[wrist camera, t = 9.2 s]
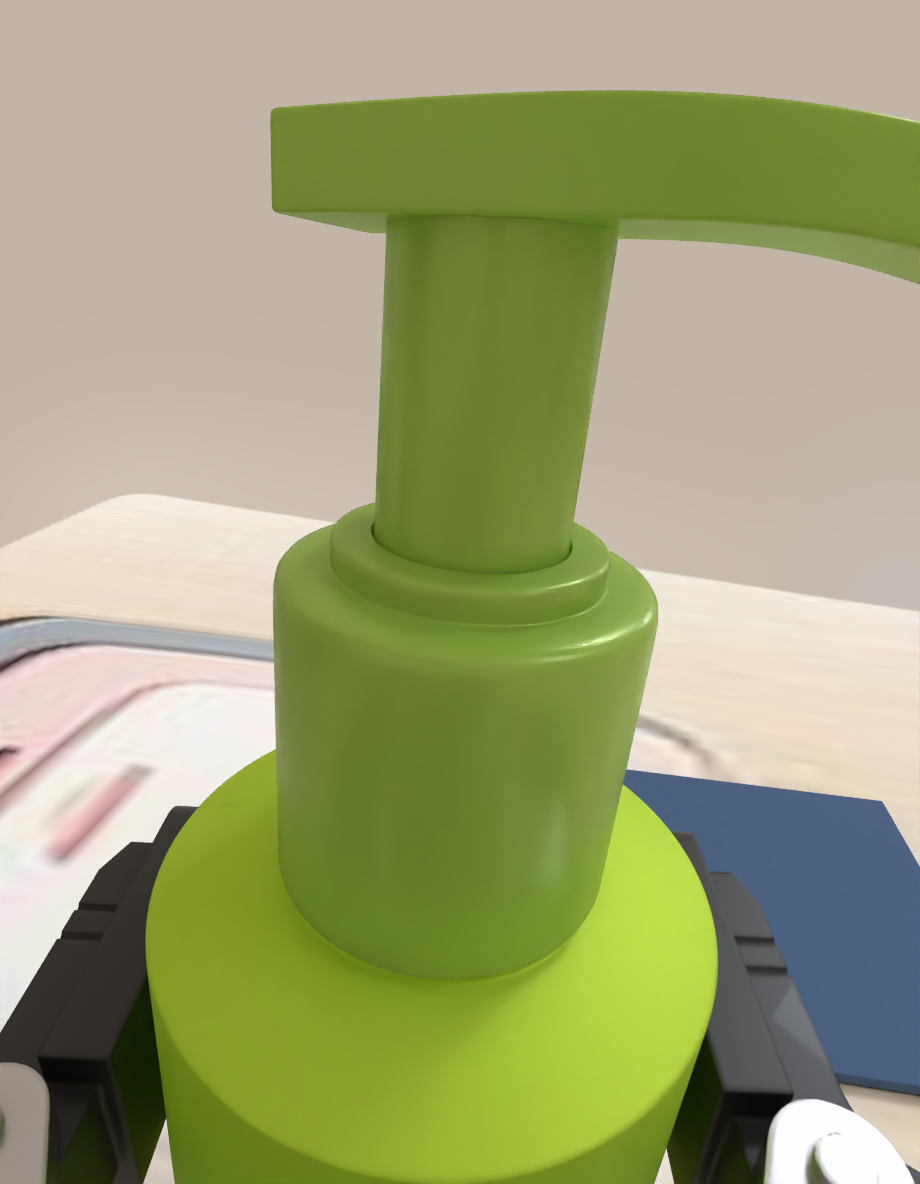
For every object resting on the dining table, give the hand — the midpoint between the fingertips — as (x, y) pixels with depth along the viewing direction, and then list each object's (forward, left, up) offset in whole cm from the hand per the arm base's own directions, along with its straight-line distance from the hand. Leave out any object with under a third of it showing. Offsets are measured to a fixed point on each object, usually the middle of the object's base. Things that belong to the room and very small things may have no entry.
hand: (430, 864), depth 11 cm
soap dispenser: (0, -3, -11) cm, 11 cm away
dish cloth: (+9, +12, -12) cm, 19 cm away
